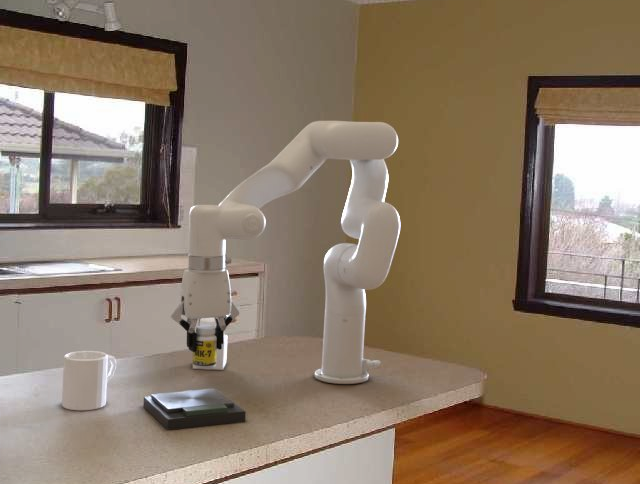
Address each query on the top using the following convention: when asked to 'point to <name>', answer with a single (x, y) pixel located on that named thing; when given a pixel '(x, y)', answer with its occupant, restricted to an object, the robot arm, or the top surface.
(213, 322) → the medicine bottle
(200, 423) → the scale
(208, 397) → the scale pan
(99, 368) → the mug
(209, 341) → the supplement bottle
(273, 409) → the top surface
